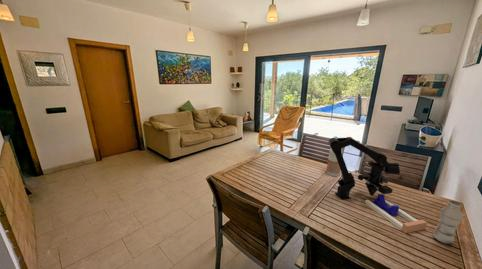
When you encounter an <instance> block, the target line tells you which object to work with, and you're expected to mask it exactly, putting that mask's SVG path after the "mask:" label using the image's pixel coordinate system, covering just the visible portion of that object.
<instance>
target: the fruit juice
mask: <svg viewBox="0 0 482 269" xmlns="http://www.w3.org/2000/svg"><path fill="white" fill-rule="evenodd" d="M328 152H329V155H328V157H327V166H326V174H328V176H331V177H338V176H340V173H341V170H340V167H339V164H338V162H337V159H336V156H335V154H334V152H333V151H332V149H331V147H330V148H329V151H328ZM342 154H343V150H342Z"/></svg>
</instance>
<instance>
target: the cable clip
mask: <svg viewBox="0 0 482 269" xmlns="http://www.w3.org/2000/svg"><path fill="white" fill-rule="evenodd" d="M385 195H386V194H382V193H378V194H377V197H376V198H374V200H373V204H375V205H376V206H378V207H379V208H381V209H382V210H383V211H385V212H386V213H388V214H389V215H390V216H392V217H397V216H398V215H399V214H398V210H399V209H400V206H399V205H395V204H393V205H392V206H391V208H390V207H388V205H387V204H386V202H385V200H386V199H385Z"/></svg>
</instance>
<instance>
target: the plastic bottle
mask: <svg viewBox="0 0 482 269" xmlns="http://www.w3.org/2000/svg"><path fill="white" fill-rule="evenodd" d="M461 209H462V204H461V203H460V202H458V201H455V200H449V201H448V203H447V205H446V206H444V207H442V208H441V210H440V216H439V221H438V224H437V226H436V228H435V229H434V230H433V237H434V239H435V240H436V241H439V242H440V243H443V244H446V245H451V244H453V242H454V241H455V234H456V230H457V227H458V225H459V224H460V222H461V221H462V219H463V213H462V211H461Z"/></svg>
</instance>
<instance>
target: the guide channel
mask: <svg viewBox="0 0 482 269" xmlns="http://www.w3.org/2000/svg"><path fill="white" fill-rule="evenodd" d="M385 202H386V204H387V205H388V207H390V208H391V206H392V205H394V204H393V203H391V202H390V201H388V200H386V199H385ZM364 204H366V205H367V206H368V207H369V208H371V209H372V210H373V211H375V212H376V213H377V214H379V215H380V216H382V217H383V218H385V219H386V220H387V221H388V222H390V223H391V224H393V225H394V226H395V227H397V228H398V229H399V230H401V231H402V232H403V233H404V234H409V233H414V232H418V231H422V230H426V228H427V223H428V222H427V221H426V220H424V219H419V220H418V219H416V218H415V217H413V216H411V215H410V214H408V213H407V212H405V211H404V210H402V209H401V208H399V210H398V214H397V215H399V216H401V217H402V218H404V219H405V220H406V221H408V222H404V223H402V222H401V221H399V220H398V219H396V218H395V217H394V216H391V215H389V214H388V213H387V212H386V211H385V210H384V209H381V208H379V207H378V206H377V205H376V204H375V203H374V202H372V201H371V200H369V199H365V201H364Z"/></svg>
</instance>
